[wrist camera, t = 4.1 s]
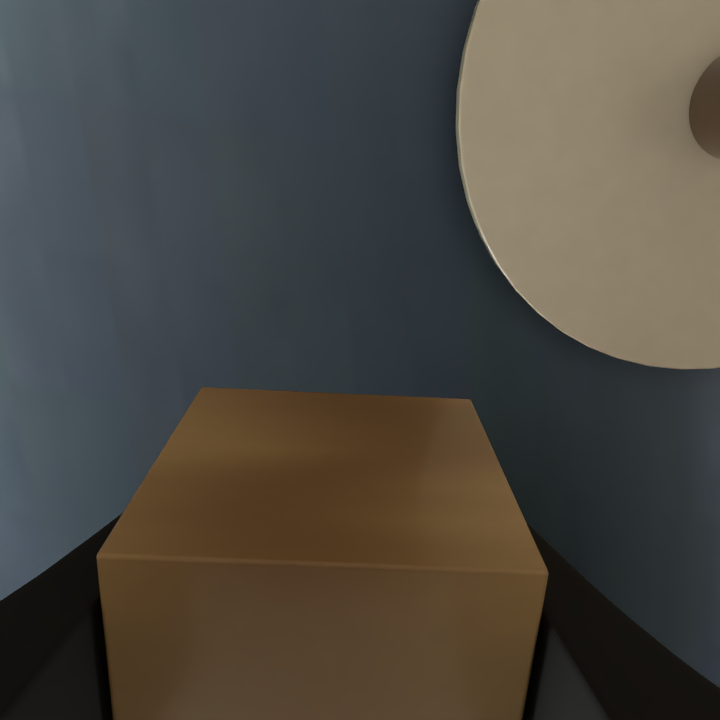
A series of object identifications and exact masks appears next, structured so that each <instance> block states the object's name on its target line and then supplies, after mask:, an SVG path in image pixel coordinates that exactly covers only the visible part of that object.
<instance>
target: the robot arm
mask: <svg viewBox="0 0 720 720" xmlns="http://www.w3.org/2000/svg"><path fill="white" fill-rule="evenodd" d="M122 514H123V513H122ZM122 514H121V515H122ZM121 515H119V516H118V517H117V518H116V519H114V520H113V521H112V522H110V523H109V524H108V525H106V526H105V527H104V528H102V529H101V530H100V531H98V532H97V533H96V534H94V535H93V536H92V537H90V538H89V539H88V540H86V541H85V542H84V543H82V544H81V545H80V546H78V547H77V548H76V549H74V550H73V551H71V552H70V553H69V554H67V555H66V556H65V557H63V558H62V559H61V560H59V561H58V562H57V563H55V564H54V565H52V566H51V567H50V568H48V569H47V570H46V571H44V572H43V573H41V574H40V575H39V576H37V577H36V578H34V579H33V580H31V581H30V582H28V583H27V584H25V585H24V586H22V587H21V588H19V589H18V590H16V591H15V592H13V593H12V594H10V595H9V596H7V597H6V598H4V599H3V600H1V601H0V720H113V715H112V705H111V695H110V685H109V676H108V666H107V656H106V646H105V636H104V626H103V617H102V607H101V597H100V587H99V577H98V567H97V554H98V552H99V550H100V549H101V547H102V546H103V544H104V542H105V541H106V539H107V538H108V536H109V534H110V533H111V531H112V530H113V528H114V526H115V525H116V523H117V522H118V520H119V518H120V517H121ZM526 524H527V523H526ZM527 526H528V528H529V530H530V532H531V535H532V537H533V539H534V541H535V544H536V546H537V548H538V550H539V552H540V555H541V557H542V559H543V561H544V563H545V566H546V568H547V570H548V573H549V574H548V580H547V585H546V591H545V596H544V602H543V607H542V613H541V619H540V624H539V630H538V635H537V641H536V646H535V652H534V657H533V663H532V668H531V674H530V680H529V685H528V691H527V696H526V702H525V707H524V713H523V718H522V720H720V688H719V687H717V686H716V685H715V684H713V683H712V682H710V681H709V680H707V679H706V678H705V677H703V676H702V675H700V674H699V673H698V672H697V671H695V670H694V669H693V668H691V667H690V666H689V665H687V664H686V663H685V662H683V661H682V660H681V659H679V658H678V657H677V656H676V655H674V654H673V653H672V652H671V651H669V650H668V649H667V648H666V647H664V646H663V645H662V644H661V643H659V642H658V641H657V640H656V639H655V638H653V637H652V636H651V635H650V634H648V633H647V632H646V631H645V630H644V629H642V628H641V627H640V626H639V625H637V624H636V623H635V622H634V621H633V620H631V619H630V618H629V617H628V616H627V615H626V614H624V613H623V612H622V611H621V610H620V609H619V608H617V607H616V606H615V605H614V604H613V603H612V602H611V601H609V600H608V599H607V598H606V597H605V596H604V595H603V594H602V593H600V592H599V591H598V590H597V589H596V588H595V587H594V586H593V585H592V584H591V583H589V582H588V581H587V580H586V579H585V578H584V577H583V576H582V575H581V574H580V573H579V572H578V571H577V570H575V569H574V568H573V567H572V566H571V565H570V564H569V563H568V562H567V561H566V560H565V559H564V558H563V557H562V556H561V555H560V554H559V553H558V552H556V551H555V550H554V549H553V548H552V547H551V546H550V545H549V544H548V543H547V542H546V541H545V540H544V539H543V538H542V537H541V536H540V535H539V534H538V533H537V532H536V531H535V530H534V529H532V528H531V527H530V526H529V525H528V524H527Z"/></svg>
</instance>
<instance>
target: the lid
mask: <svg viewBox="0 0 720 720" xmlns="http://www.w3.org/2000/svg"><path fill="white" fill-rule="evenodd" d="M456 139H457V150H458V161H459V169H460V173H461V178H462V182H463V187H464V191H465V196H466V200H467V203H468V206H469V209H470V211H471V214H472V217H473V219H474V222H475V225H476V228H477V230H478V233H479V235H480V237H481V239H482V241H483V242H484V244H485V246H486V248H487V250H488V252H489V254H490V256H491V258H492V259H493V261H494V263H495V264H496V266H497V267H498V268H499V270H500V271H501V272H502V274H503V275H504V277H505V278H506V279H507V281H508V282H509V284H510V285H511V286H512V288H513V289H514V290H515V291H516V292H517V293H518V294H519V295H520V296H521V297H522V298H523V299H524V300H525V301H526V302H527V303H528V304H529V305H530V306H531V307H532V308H533V309H534V310H535V311H536V312H537V313H538V314H539V315H541V316H542V317H543V318H545V319H546V320H547V321H548V322H550V323H551V324H552V325H554V326H555V327H556V328H558V329H559V330H560V331H561V332H563V333H565V334H566V335H568V336H570V337H572V338H573V339H575V340H577V341H579V342H580V343H582V344H584V345H586V346H588V347H589V348H592V349H594V350H597V351H600V352H602V353H605V354H607V355H610V356H612V357H615V358H617V359H621V360H625V361H630V362H634V363H638V364H642V365H646V366H653V367H662V368H672V369H713V368H720V0H478V2H477V4H476V6H475V9H474V12H473V16H472V19H471V23H470V27H469V30H468V34H467V38H466V41H465V45H464V48H463V54H462V60H461V67H460V73H459V80H458V86H457V101H456Z"/></svg>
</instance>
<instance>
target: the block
mask: <svg viewBox="0 0 720 720" xmlns="http://www.w3.org/2000/svg"><path fill="white" fill-rule="evenodd" d="M97 567H98V577H99V587H100V597H101V607H102V617H103V626H104V636H105V646H106V656H107V666H108V676H109V685H110V695H111V705H112V715H113V720H522V718H523V713H524V707H525V702H526V696H527V691H528V685H529V680H530V674H531V668H532V663H533V657H534V652H535V646H536V641H537V635H538V630H539V624H540V619H541V613H542V607H543V602H544V596H545V591H546V585H547V580H548V574H549V573H548V570H547V568H546V566H545V563H544V561H543V559H542V557H541V555H540V552H539V550H538V548H537V546H536V544H535V541H534V539H533V537H532V535H531V532H530V530H529V528H528V526H527V524H526V521H525V519H524V517H523V515H522V513H521V510H520V508H519V506H518V504H517V501H516V499H515V497H514V495H513V493H512V490H511V488H510V486H509V484H508V482H507V479H506V477H505V475H504V473H503V470H502V468H501V466H500V464H499V462H498V459H497V457H496V455H495V453H494V450H493V448H492V446H491V444H490V442H489V439H488V437H487V435H486V433H485V431H484V428H483V426H482V424H481V422H480V419H479V417H478V415H477V413H476V411H475V408H474V406H473V404H472V402H471V400H469V399H451V398H429V397H407V396H385V395H363V394H341V393H318V392H296V391H274V390H252V389H230V388H207V387H203V388H201V389H200V390H199V392H198V394H197V395H196V397H195V398H194V400H193V402H192V403H191V405H190V406H189V408H188V410H187V411H186V413H185V414H184V416H183V418H182V419H181V421H180V422H179V424H178V426H177V427H176V429H175V430H174V432H173V434H172V435H171V437H170V438H169V440H168V442H167V443H166V445H165V446H164V448H163V450H162V451H161V453H160V454H159V456H158V458H157V459H156V461H155V462H154V464H153V466H152V467H151V469H150V470H149V472H148V474H147V475H146V477H145V478H144V480H143V482H142V483H141V485H140V486H139V488H138V490H137V491H136V493H135V494H134V496H133V498H132V499H131V501H130V502H129V504H128V506H127V507H126V509H125V510H124V512H123V514H122V515H121V517H120V518H119V520H118V522H117V523H116V525H115V526H114V528H113V530H112V531H111V533H110V534H109V536H108V538H107V539H106V541H105V542H104V544H103V546H102V547H101V549H100V550H99V552H98V554H97Z"/></svg>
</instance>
